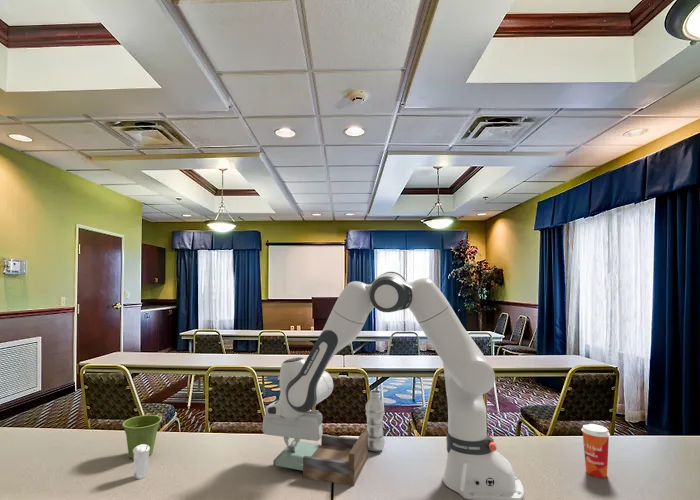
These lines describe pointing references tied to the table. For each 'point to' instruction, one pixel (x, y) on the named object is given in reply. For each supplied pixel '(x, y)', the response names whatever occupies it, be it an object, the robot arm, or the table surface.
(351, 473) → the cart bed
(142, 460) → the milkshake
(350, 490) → the table surface
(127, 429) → the plant pot
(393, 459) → the table surface
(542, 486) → the table surface
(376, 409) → the plastic bottle
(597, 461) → the paper cup
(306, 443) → the panel
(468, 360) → the robot arm
